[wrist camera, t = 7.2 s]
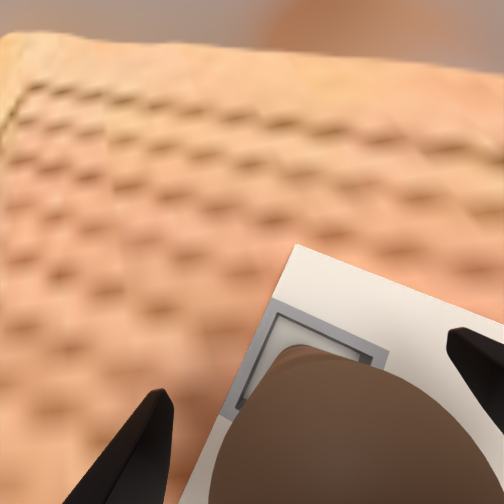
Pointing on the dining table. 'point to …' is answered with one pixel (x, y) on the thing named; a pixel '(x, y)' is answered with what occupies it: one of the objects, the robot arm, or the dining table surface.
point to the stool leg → (346, 441)
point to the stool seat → (358, 346)
